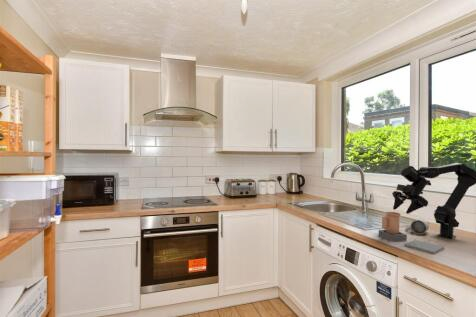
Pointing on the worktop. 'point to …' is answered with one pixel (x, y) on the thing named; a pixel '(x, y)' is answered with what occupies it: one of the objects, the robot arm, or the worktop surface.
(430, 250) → the mat
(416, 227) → the ceramic mug
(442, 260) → the worktop surface
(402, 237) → the holder
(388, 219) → the peach rounded cylinder
